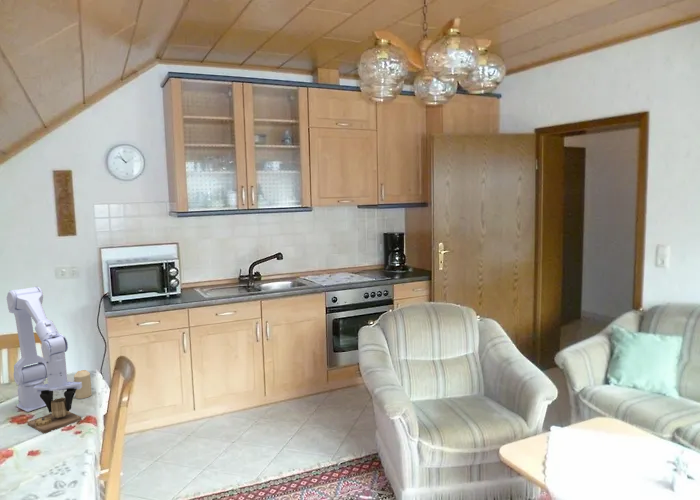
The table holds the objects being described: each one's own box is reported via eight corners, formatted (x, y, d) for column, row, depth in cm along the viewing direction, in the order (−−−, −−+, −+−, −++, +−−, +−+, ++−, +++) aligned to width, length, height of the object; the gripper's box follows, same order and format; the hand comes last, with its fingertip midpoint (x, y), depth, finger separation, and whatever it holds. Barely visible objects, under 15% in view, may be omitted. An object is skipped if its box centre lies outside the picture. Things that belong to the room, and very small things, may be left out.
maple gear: (48, 415, 172) (47, 401, 171) (64, 410, 176) (63, 396, 176) (56, 419, 169) (55, 404, 168) (72, 413, 173) (70, 399, 173)
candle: (84, 399, 191) (82, 373, 190) (72, 398, 192) (70, 373, 191) (94, 393, 196) (93, 368, 195) (82, 393, 197) (80, 368, 196)
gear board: (27, 424, 170) (26, 411, 169) (64, 412, 179) (63, 398, 179) (44, 433, 163) (43, 419, 162) (81, 419, 173) (80, 406, 172)
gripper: (28, 378, 166) (31, 417, 167) (75, 374, 168) (78, 413, 170) (37, 370, 173) (40, 408, 174) (82, 367, 175) (85, 405, 177)
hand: (60, 410), depth 172 cm, fingers closed on maple gear, 5 cm apart
